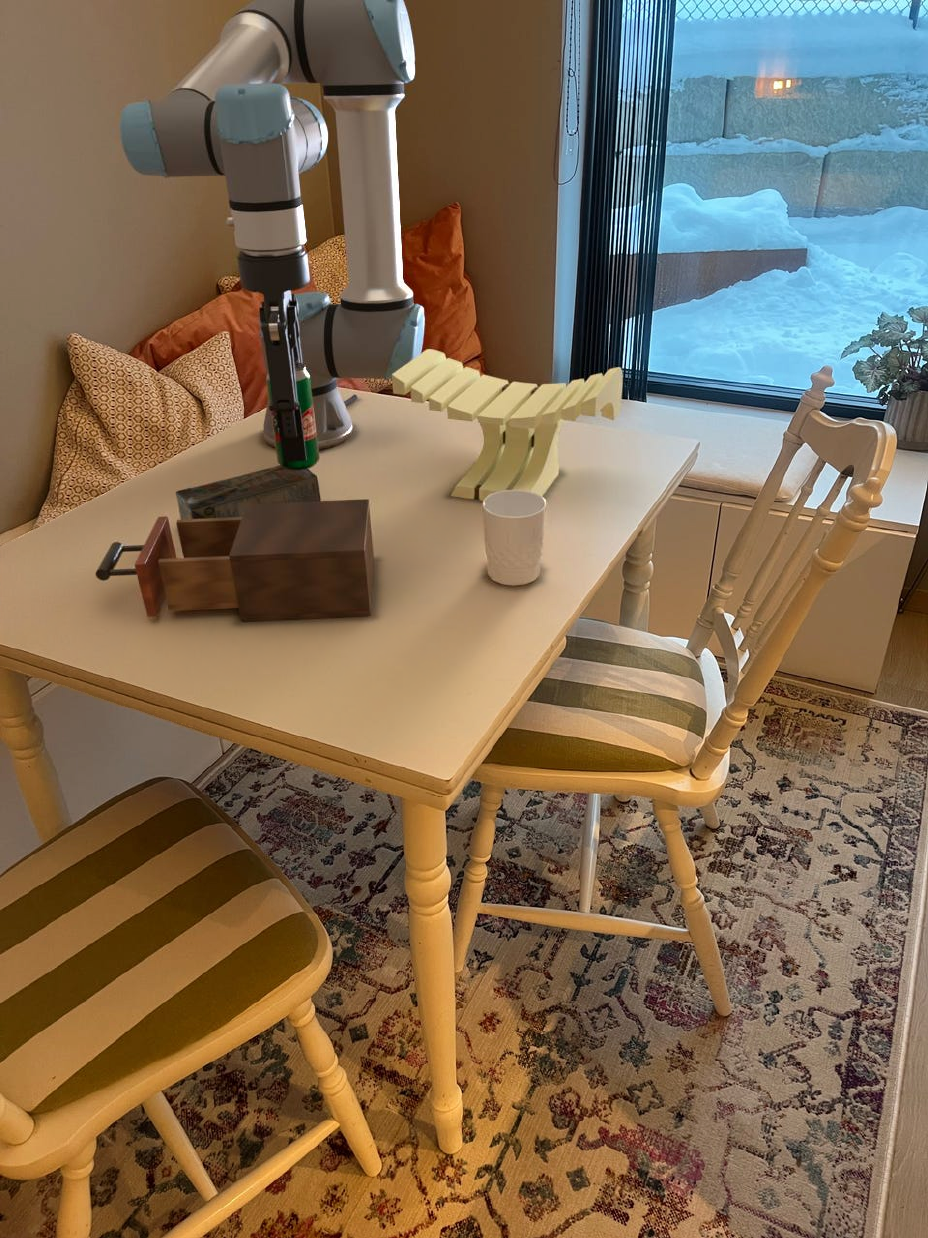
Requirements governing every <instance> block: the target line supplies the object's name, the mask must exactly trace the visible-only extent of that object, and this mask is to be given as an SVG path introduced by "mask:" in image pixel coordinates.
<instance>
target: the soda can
mask: <svg viewBox="0 0 928 1238" xmlns="http://www.w3.org/2000/svg"><path fill="white" fill-rule="evenodd" d="M294 365H295V376H296V387H297V398H298V402H299V406H300V407H301V415H302V424H303V432H304V440H305V448H306V456H307V460H306V461H295V462H283V456H282V448H281V441H280V434H279V426H278V419H277V412H276V411H271V417H272V425H273V432H274V439H275V446H276V447H275V451H276V453H275V454H276V458H277V460H276V461H277V463H278V465H281V466H282V467H283V468H285V469H288V470H296V471H297V470H305V469H311V468H313V467H315V466H316V464H317V463H318V462H319V460H320V451H319V450H320V449H318V441H317V432H316V424H315V415H314V406H313V397H312V389H311V380H310V374H309V373H308V371H307V370H306V366H305V365H304V364H303V363H299V362H294ZM265 381H266V388H267V395H268V398H269V403H270V405H272V403H273V401H272V393H271V386H270V378H269V373H268V375H267V376H266V377H265Z"/></svg>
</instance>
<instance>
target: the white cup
mask: <svg viewBox="0 0 928 1238" xmlns="http://www.w3.org/2000/svg"><path fill="white" fill-rule="evenodd" d="M481 505H482V521H483V535H484V548H485V555H486V562H487V563H486V565H487V567H486V568H487V575H488V577H489V578H490V579H491V580H492V581H493V582H496V583H498V584H500V585H504V586H512V587H513V586H524V585H527V584H530V583H533V582H534V581H536V579H538V578H539V576H540V571H541V561H542V555H543V547H544V538H545V527H546V524H545V523H546V511H547V500H546V499H545V498H544V497H543V496H540V495H538V494H536V493H534V492H530V491H525V490H504V491H499V492H495V493H493V494H490V495H489V496H487V497H486V498H485V499H484V500H483V501H482V503H481Z"/></svg>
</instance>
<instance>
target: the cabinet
mask: <svg viewBox="0 0 928 1238" xmlns="http://www.w3.org/2000/svg"><path fill="white" fill-rule="evenodd" d="M370 510H371V509H370V499H368V498H366V499H363V498H362V499H346V500H345V499H344V500H343V499H341V500H321V501H316V502H293V503H269V504H247V505H246V507H245V510H244V513H243V516H242V519H241V522H240V525H239V528H238V531H237V534H236V537H235V540H234V543H233V546H232V549H231V552H230V555H229V558H230V564H231V569H232V575H233V580H234V586H235V591H236V597H237V602H238V608H237V609H238V612H239V616H240V617H239V618H240V622H242V623H244V622H245V623H247V622H265V621H266V622H268V621H289V620H306V619H307V620H313V619H330V618H331V619H333V618H355V617H371V615H372V602H373V601H372V599H373V584H374V569H375V567H374V566H375V555H374V554H375V553H374V545H373V544H374V543H373V533H372V522H371V521H372V520H371V519H372V518H371V511H370Z"/></svg>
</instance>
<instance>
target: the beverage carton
mask: <svg viewBox="0 0 928 1238" xmlns="http://www.w3.org/2000/svg"><path fill="white" fill-rule="evenodd" d="M175 496H176V501H177V506H178V512H179V517H180V520H183V519H206V518H230V517H242V516H243V513H244V510H245V507H246V505H247V504H269V503H293V502H316V501H322V497H321V491H320V485H319V478H318V476H317V474H315V473H313V472H312V470H310V468H308V469H305V470H297V471H296V470H288V469H285V468H283V467H282V466H281V465H280V464H278V465H276V466H272V467H267V468H264V469H260V470H257V471H252V472H249V473H245V474H241V475H238V476H233V477H230V478H225V479H221V480H218V481H214V482H210V483H206V484H202V485H199V486H193V487H188V488H185V489H180V490H177V491H175Z"/></svg>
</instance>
